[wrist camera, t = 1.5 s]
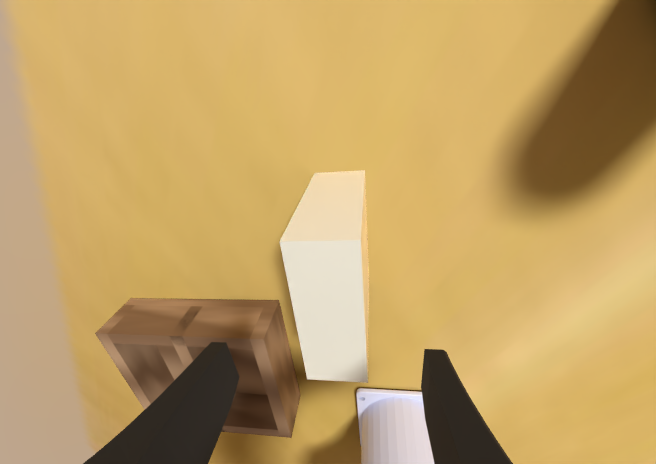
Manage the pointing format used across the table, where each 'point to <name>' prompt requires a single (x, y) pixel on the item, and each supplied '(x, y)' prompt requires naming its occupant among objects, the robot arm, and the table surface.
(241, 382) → the rack
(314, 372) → the white square block
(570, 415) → the table surface
